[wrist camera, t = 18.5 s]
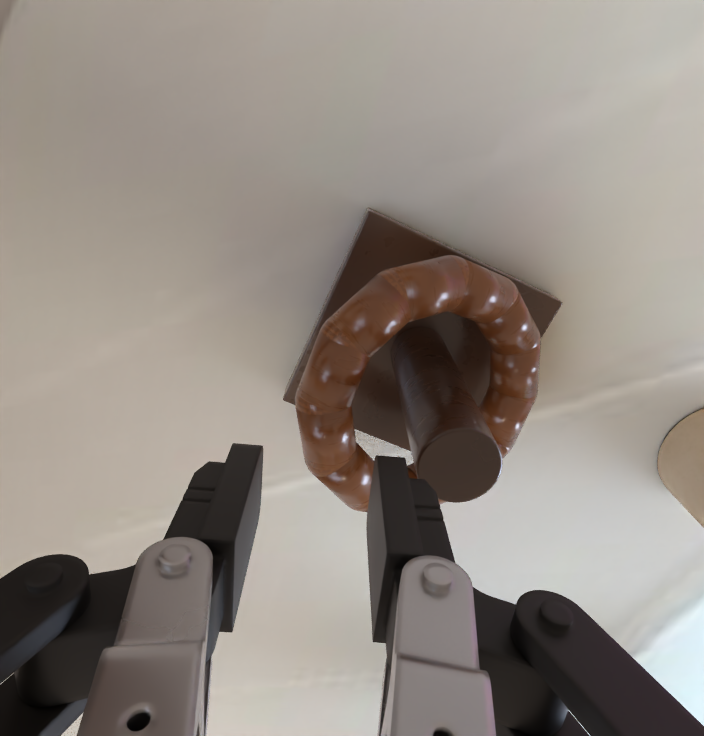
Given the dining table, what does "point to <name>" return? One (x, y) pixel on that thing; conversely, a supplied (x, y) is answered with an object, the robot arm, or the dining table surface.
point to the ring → (377, 326)
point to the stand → (424, 367)
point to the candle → (685, 464)
